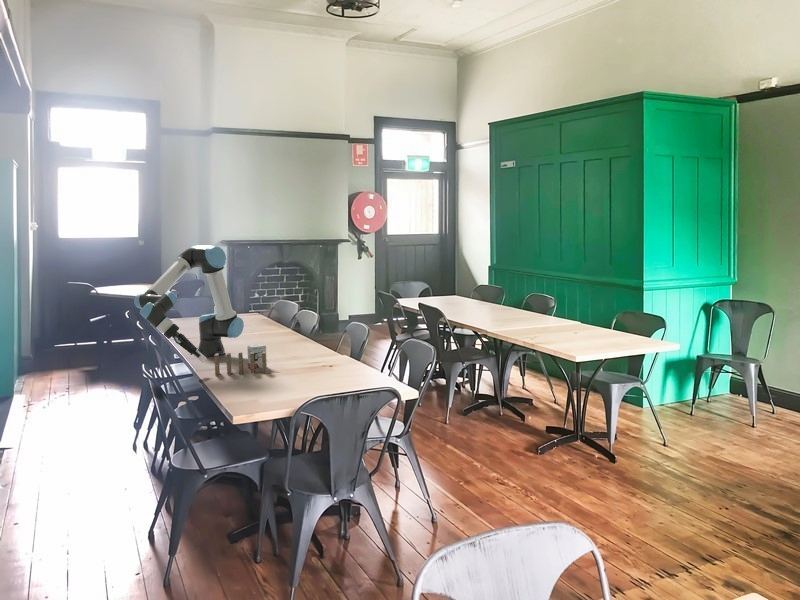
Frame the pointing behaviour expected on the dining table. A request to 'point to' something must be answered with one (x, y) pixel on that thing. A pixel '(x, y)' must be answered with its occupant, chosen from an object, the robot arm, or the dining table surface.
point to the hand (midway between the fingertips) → (204, 360)
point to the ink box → (256, 355)
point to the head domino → (217, 364)
